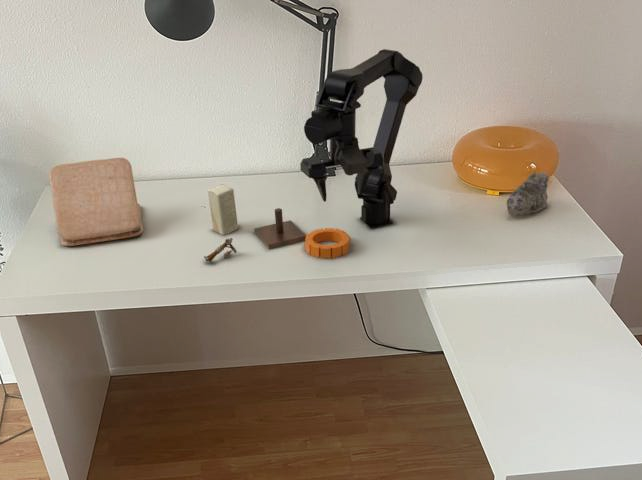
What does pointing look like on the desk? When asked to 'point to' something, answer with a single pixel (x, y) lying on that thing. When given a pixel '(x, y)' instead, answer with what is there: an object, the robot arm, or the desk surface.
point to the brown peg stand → (279, 232)
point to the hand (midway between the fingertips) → (342, 197)
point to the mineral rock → (529, 195)
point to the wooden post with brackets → (219, 249)
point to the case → (95, 201)
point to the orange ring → (327, 250)
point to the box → (223, 209)
